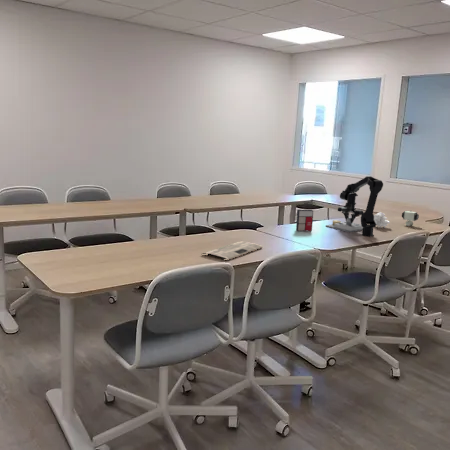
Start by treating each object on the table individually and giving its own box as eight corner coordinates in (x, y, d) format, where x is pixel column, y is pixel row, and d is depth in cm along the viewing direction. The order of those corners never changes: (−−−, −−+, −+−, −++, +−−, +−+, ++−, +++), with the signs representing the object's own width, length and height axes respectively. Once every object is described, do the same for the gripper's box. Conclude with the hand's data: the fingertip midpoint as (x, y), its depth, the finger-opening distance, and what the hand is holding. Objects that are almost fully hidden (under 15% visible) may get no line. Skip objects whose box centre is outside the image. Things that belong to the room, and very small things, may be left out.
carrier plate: (363, 229, 344) (364, 224, 343) (350, 232, 333) (350, 226, 332) (339, 224, 360) (339, 219, 359) (325, 226, 349) (326, 221, 348)
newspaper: (227, 262, 249) (227, 257, 249) (199, 255, 260) (199, 251, 260) (262, 249, 279) (262, 245, 278) (235, 243, 290) (236, 239, 289)
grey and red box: (297, 231, 329) (299, 210, 326) (295, 230, 334) (297, 209, 330) (312, 231, 332) (313, 210, 329) (310, 229, 336) (311, 209, 333)
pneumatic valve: (415, 227, 360) (417, 212, 357) (400, 224, 367) (402, 209, 365) (418, 226, 364) (419, 211, 361) (403, 223, 371) (404, 209, 369)
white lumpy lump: (389, 229, 347) (391, 214, 345) (373, 228, 349) (374, 213, 347) (387, 226, 358) (389, 211, 355) (371, 225, 360) (373, 210, 358)
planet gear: (359, 226, 343) (360, 218, 341) (350, 228, 336) (351, 219, 335) (347, 224, 351) (347, 215, 349) (338, 225, 344) (339, 217, 343)
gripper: (334, 200, 341) (332, 221, 345) (355, 204, 327) (353, 225, 331) (343, 199, 348) (341, 219, 352) (364, 203, 335) (362, 224, 338)
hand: (349, 222), depth 343 cm, fingers closed on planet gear, 4 cm apart
